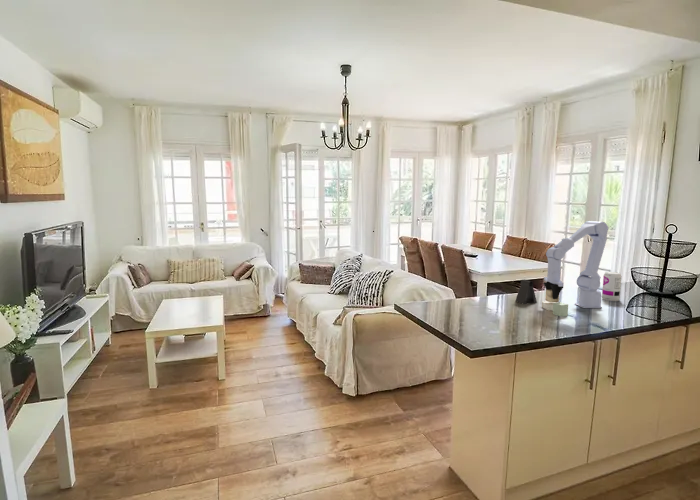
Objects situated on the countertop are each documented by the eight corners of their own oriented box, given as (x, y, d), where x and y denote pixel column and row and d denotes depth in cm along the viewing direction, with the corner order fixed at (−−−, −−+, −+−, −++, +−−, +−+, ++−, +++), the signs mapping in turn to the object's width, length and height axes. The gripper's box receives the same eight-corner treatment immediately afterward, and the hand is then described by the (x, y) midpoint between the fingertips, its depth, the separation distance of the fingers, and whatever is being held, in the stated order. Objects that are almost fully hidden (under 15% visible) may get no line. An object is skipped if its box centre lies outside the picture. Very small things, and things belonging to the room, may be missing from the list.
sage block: (560, 313, 191) (560, 302, 190) (567, 315, 186) (568, 304, 186) (552, 313, 189) (553, 302, 189) (560, 316, 185) (560, 305, 184)
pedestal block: (555, 307, 202) (555, 301, 202) (562, 311, 195) (562, 305, 195) (541, 307, 202) (542, 301, 202) (547, 310, 196) (548, 305, 195)
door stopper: (528, 300, 216) (529, 278, 214) (536, 302, 210) (538, 280, 209) (515, 301, 213) (516, 279, 211) (523, 304, 207) (524, 282, 206)
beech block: (554, 300, 201) (554, 289, 200) (558, 302, 196) (559, 291, 195) (545, 300, 201) (545, 289, 200) (549, 302, 196) (550, 291, 195)
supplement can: (604, 300, 213) (606, 273, 211) (599, 297, 221) (601, 271, 219) (621, 302, 211) (624, 274, 209) (616, 298, 219) (618, 272, 217)
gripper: (538, 268, 204) (537, 294, 205) (554, 273, 189) (552, 301, 191) (552, 268, 204) (550, 294, 205) (568, 273, 189) (566, 301, 191)
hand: (552, 297), depth 198 cm, fingers closed on beech block, 5 cm apart
